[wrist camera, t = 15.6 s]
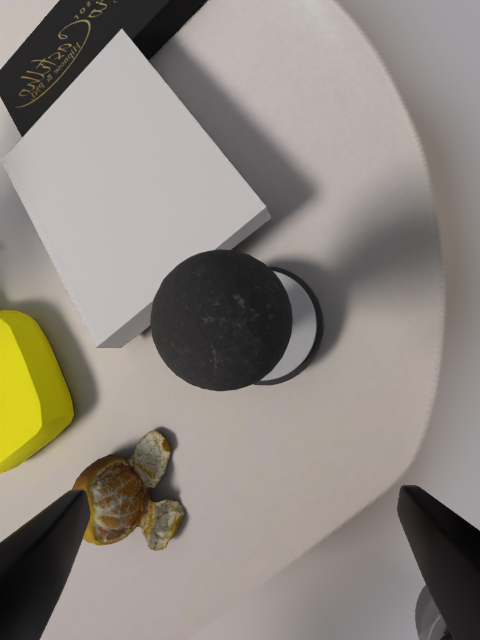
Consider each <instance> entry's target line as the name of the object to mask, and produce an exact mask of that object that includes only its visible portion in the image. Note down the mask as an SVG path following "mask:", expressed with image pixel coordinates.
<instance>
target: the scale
mask: <svg viewBox="0 0 480 640" xmlns="http://www.w3.org/2000/svg"><path fill="white" fill-rule="evenodd" d="M268 267H269V268H270V269H271V270H272V271H273V272H274V273H275V274H276V275H277V276H278V278H279V279H280V280H281V282H282V284H283V286H284V287H285V289H286V291H287V293H288V297H289V300H290V303H291V307H292V316H293V324H292V334H291V337H290V341H289V344H288V346H287V349H286V351H285V353H284V356H283V358H282V359H281V360H280V361H279V363H278V364H277V365H276V366H275V368H274V369H273V370H272V371H271V372H270V373H269V374H268V375H266V376H265V377H264V378H263V379H261V380H260V381H258V382H256V383H254V385H274V384H279V383H282V382H285V381H287V380H290V379H292V378H293V377H295V376H297V375H298V374H300V373H301V372H302V371H303V370H304V369H305V368H306V367H307V366H308V365H309V364H310V363H311V361H312V360H313V358H314V357H315V355H316V354H317V351H318V349H319V347H320V344H321V341H322V337H323V326H324V325H323V315H322V311H321V307H320V304H319V302H318V299H317V298H316V296H315V294H314V292H313V291H312V290H311V288H310V287H309V286H308V285H307V284H306V283H305V282H304V281H303V280H302V279H301V278H299V277H298V276H296V275H295V274H293V273H291V272H289V271H287V270H284V269H281V268H277V267H270V266H268Z"/></svg>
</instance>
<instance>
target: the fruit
mask: <svg viewBox="0 0 480 640" xmlns="http://www.w3.org/2000/svg"><path fill="white" fill-rule="evenodd" d="M170 450H171V449H170V448H169V444H168V443H167V441H166V439H165V438H163V437H162V435H161V433H159V432H157V431H155V430H154V431H151V432H149V433H147V434H146V435H145V436H144V437H143V438H142V439H141V441H140V442H139V443H138V444H137V447H136V448H135V452H134V454H133V455H132V456H131V457H130V458H129V459H123V458H120V457H118V456H115V455H108V456H106V457H103V458H101V459H98V460H97V461H95V462H94V463H92V464H91V465H90V466H88V467H87V468H86V469H85V470H84V471H83V472H82V473H81V474H80V476H79V477H78V478H77V480H76V482H75V484H74V486H73V489H72V490H81V489H83V490H85V491H86V492H87V496H88V501H89V506H90V511H91V515H90V520H89V523H88V526H87V529H86V531H85V534H84V537H83V539H84V540H86V541H87V542H89V543H94V544H96V545H108V544H112V543H115V542H118V541H120V540H122V539H124V538H125V537H127V536H128V535H129V534H130V533H131V532H133V531H134V529H135V528H136V527H141V528H142V532H143V534H144V535H145V538H146V540H147V542H148V547H149V548H150V549H152V550H163V549H164V548H166V546H167V544H168V541H169V540H170V539H171V538H172V537H173V536H174V534H175V533H176V531H177V530H178V528H179V526H180V524H181V521H182V520H183V518H184V515H185V512H184V508H183V507H182V506H181V505H180V504H179V503H178V501H171V500H163V501H161V502H158V503H154V502H151V500H150V498H149V495H148V492H147V490H148V488H149V487H152V488H154V487H155V486H156V484H157V483H158V482H159V480H160V479H161V477H162V475H163V474H164V473H165V471H166V466H167V463H168V460H169V458H170V457H169V455H170V453H171V452H170Z"/></svg>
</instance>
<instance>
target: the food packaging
mask: <svg viewBox="0 0 480 640" xmlns="http://www.w3.org/2000/svg"><path fill="white" fill-rule="evenodd" d="M1 162H2V164H3V166H4V168H5V170H6V172H7V174H8V176H9V177H10V179H11V181H12V183H13V185H14V187H15V189H16V191H17V193H18V195H19V197H20V199H21V201H22V203H23V205H24V207H25V209H26V211H27V213H28V215H29V217H30V219H31V221H32V223H33V225H34V227H35V229H36V231H37V233H38V235H39V237H40V239H41V241H42V243H43V245H44V247H45V249H46V250H47V252H48V254H49V256H50V258H51V260H52V262H53V264H54V266H55V268H56V270H57V272H58V274H59V276H60V278H61V280H62V282H63V284H64V286H65V288H66V290H67V292H68V294H69V296H70V298H71V300H72V302H73V304H74V306H75V308H76V310H77V312H78V314H79V316H80V318H81V320H82V321H83V323H84V325H85V327H86V329H87V331H88V333H89V335H90V337H91V339H92V341H93V343H94V345H95V347H96V348H121V347H123V346H124V345H125V344H127V343H128V342H129V341H131V340H132V339H134V338H135V337H136V336H138V335H139V334H140V333H141V332H143V331H144V330H145V329H146V328H147V327H149V326H150V324H151V323H150V317H151V310H152V304H153V299H154V297H155V295H156V293H157V291H158V289H159V287H160V285H161V283H162V281H163V279H164V278H165V277H166V276H167V275H168V274H169V273H170V272H171V271H172V270H173V269H174V268H175V267H176V266H177V265H178V264H180V263H181V262H183V261H184V260H186V259H187V258H189V257H191V256H193V255H196V254H198V253H201V252H206V251H211V250H217V249H223V250H231V249H232V248H234V247H235V246H236V245H237V244H239V243H240V242H241V241H243V240H244V239H245V238H246V237H248V236H249V235H250V234H252V233H253V232H254V231H256V230H257V229H258V228H259V227H260V226H262V225H263V224H264V223H265V222H267V221H268V220H269V219H270V218H271V216H270V214H269V212H268V209H267V207H266V206H265V204H264V203H263V202H262V201H261V199H260V198H259V197H258V196H257V195H256V193H255V192H254V191H253V190H252V188H251V187H250V186H249V185H248V183H247V182H246V181H245V180H244V179H243V177H242V176H241V175H240V174H239V172H238V171H237V170H236V169H235V167H234V166H233V165H232V164H231V162H230V161H229V160H228V159H227V158H226V156H225V155H224V154H223V153H222V151H221V150H220V149H219V148H218V146H217V145H216V144H215V143H214V142H213V140H212V139H211V138H210V137H209V135H208V134H207V133H206V132H205V130H204V129H203V128H202V127H201V126H200V124H199V123H198V122H197V121H196V119H195V118H194V117H193V116H192V114H191V113H190V112H189V111H188V109H187V108H186V107H185V106H184V105H183V103H182V102H181V101H180V100H179V98H178V97H177V96H176V95H175V93H174V92H173V91H172V90H171V89H170V87H169V86H168V85H167V84H166V82H165V81H164V80H163V79H162V77H161V76H160V75H159V74H158V72H157V71H156V70H155V69H154V68H153V66H152V65H151V64H150V63H149V61H148V60H147V59H146V58H145V56H144V55H143V54H142V53H141V52H140V50H139V49H138V48H137V47H136V45H135V44H134V43H133V42H132V40H131V39H130V38H129V37H128V36H127V34H126V33H125V32H124V31H123V29H121V30H120V31H119V32H118V33H117V34H116V35H115V37H114V38H113V39H112V40H111V41H110V42H109V43H108V44H107V45H106V46H105V48H104V49H103V50H102V51H101V52H100V53H99V54H98V55H97V56H96V57H95V58H94V60H93V61H92V62H91V63H90V64H89V65H88V66H87V67H86V68H85V69H84V71H83V72H82V73H81V74H80V75H79V76H78V77H77V78H76V79H75V80H74V82H73V83H72V84H71V85H70V86H69V87H68V88H67V89H66V90H65V91H64V92H63V94H62V95H61V96H60V97H59V98H58V99H57V100H56V101H55V102H54V103H53V105H52V106H51V107H50V108H49V109H48V110H47V111H46V112H45V113H44V114H43V116H42V117H41V118H40V119H39V120H38V121H37V122H36V123H35V124H34V125H33V126H32V128H31V129H30V130H29V131H28V132H27V133H26V134H25V135H24V136H23V137H22V139H21V140H20V141H19V142H18V143H17V144H16V145H15V146H14V147H13V148H12V150H11V151H10V152H9V153H8V154H7V155H6V156H5V157H4V158H3V159H2V160H1Z"/></svg>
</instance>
